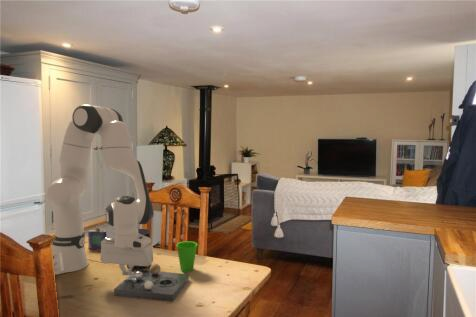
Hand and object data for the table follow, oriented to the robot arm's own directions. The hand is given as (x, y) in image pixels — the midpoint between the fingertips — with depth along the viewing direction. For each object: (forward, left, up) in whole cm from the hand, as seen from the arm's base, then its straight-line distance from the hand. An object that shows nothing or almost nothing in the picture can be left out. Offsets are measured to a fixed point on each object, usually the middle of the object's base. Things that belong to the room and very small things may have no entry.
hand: (126, 274), depth 139 cm
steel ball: (+5, 0, 0) cm, 5 cm away
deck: (+11, 0, -4) cm, 11 cm away
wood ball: (+9, +7, 0) cm, 11 cm away
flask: (-33, +35, -4) cm, 48 cm away
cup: (+18, +19, -4) cm, 26 cm away
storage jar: (-4, +19, -4) cm, 20 cm away
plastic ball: (+12, -6, 0) cm, 13 cm away
